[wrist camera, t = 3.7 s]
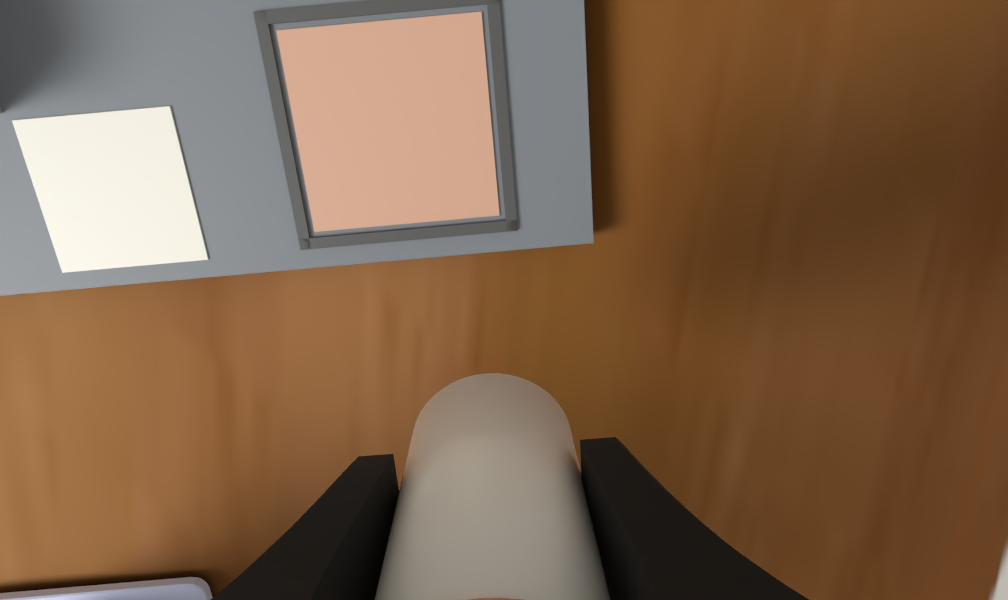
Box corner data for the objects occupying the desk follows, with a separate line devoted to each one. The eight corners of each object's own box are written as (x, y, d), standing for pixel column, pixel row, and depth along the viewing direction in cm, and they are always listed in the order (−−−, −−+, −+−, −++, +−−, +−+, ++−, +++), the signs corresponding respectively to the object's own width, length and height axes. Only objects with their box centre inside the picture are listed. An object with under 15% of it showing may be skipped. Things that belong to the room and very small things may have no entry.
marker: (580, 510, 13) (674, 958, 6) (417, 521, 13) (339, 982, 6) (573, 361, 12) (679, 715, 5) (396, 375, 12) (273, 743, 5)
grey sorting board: (590, 237, 17) (614, 274, 14) (-143, 303, 18) (-295, 354, 14) (570, -239, 14) (596, -345, 10) (-348, -151, 14) (-615, -228, 11)
